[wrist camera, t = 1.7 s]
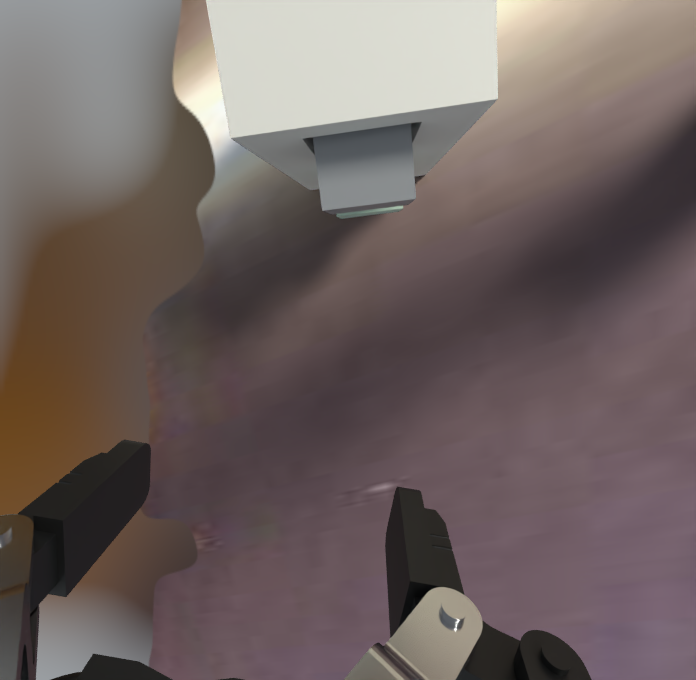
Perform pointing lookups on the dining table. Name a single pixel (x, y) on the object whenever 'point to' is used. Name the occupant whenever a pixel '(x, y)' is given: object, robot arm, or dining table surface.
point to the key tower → (352, 73)
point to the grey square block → (365, 169)
